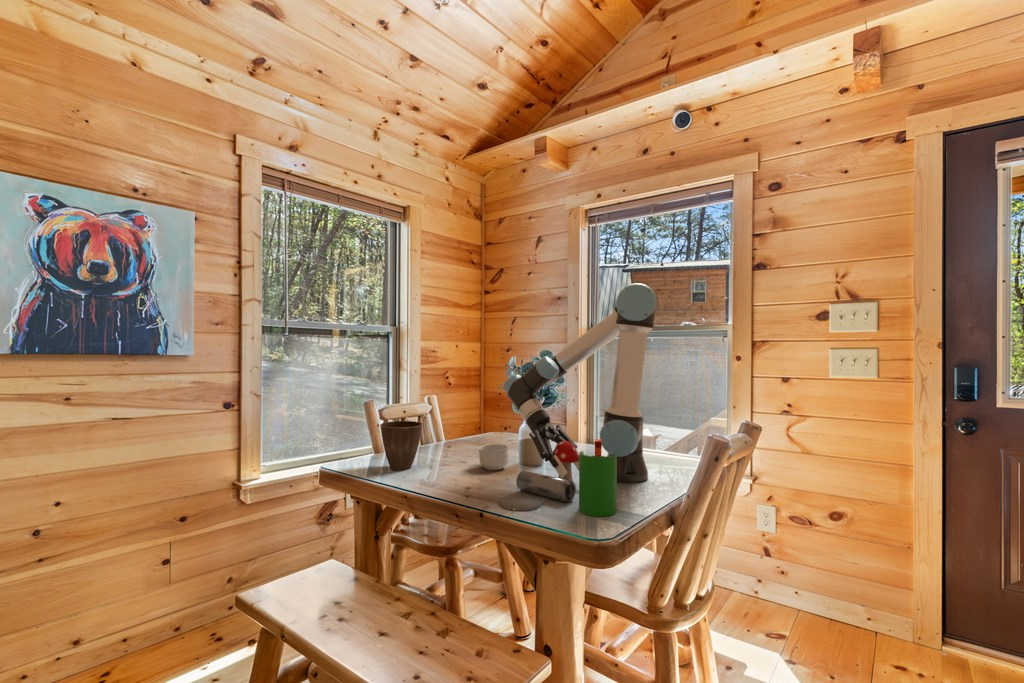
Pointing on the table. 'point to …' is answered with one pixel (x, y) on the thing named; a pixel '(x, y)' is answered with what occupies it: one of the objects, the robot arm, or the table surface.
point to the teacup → (493, 456)
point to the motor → (597, 483)
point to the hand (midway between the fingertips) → (573, 472)
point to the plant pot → (401, 442)
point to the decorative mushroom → (566, 457)
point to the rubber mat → (521, 502)
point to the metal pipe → (546, 486)
